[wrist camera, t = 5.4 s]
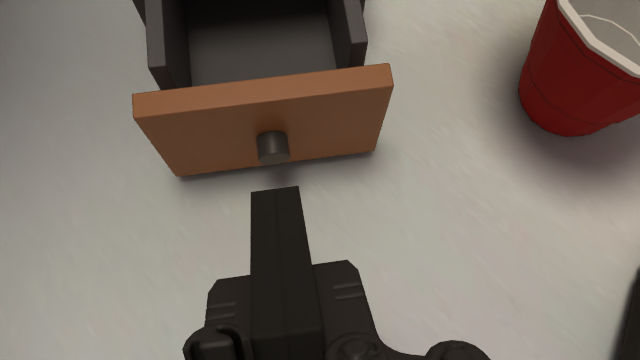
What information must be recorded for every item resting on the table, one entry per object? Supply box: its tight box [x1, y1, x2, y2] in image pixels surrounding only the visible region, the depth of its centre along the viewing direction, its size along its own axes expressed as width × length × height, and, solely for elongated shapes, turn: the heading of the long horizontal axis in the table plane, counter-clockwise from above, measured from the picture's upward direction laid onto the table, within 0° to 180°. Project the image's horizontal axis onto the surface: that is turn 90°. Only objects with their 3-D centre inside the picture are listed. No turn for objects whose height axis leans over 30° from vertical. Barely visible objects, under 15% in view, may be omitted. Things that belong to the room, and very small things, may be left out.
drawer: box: [132, 0, 394, 177], centre depth 29 cm, size 15×11×8 cm
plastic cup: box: [518, 0, 640, 137], centre depth 28 cm, size 11×11×12 cm
